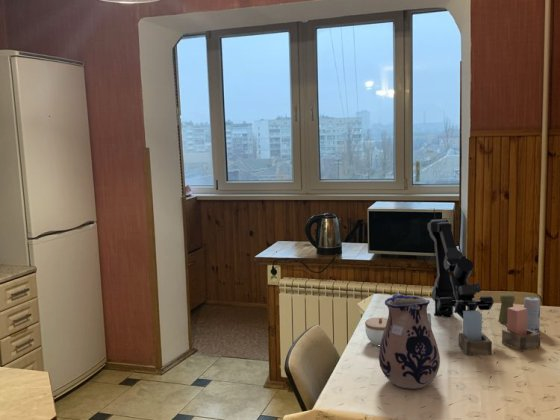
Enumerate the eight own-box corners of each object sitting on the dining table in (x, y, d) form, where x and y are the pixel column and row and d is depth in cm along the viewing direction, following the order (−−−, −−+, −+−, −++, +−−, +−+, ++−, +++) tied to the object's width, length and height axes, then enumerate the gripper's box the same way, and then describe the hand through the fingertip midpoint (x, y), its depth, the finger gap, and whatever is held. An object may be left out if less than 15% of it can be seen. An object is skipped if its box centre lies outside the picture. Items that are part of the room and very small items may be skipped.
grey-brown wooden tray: (501, 342, 192) (502, 329, 191) (518, 338, 196) (518, 325, 195) (523, 350, 184) (523, 337, 183) (540, 346, 187) (540, 333, 187)
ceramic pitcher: (396, 400, 153) (396, 313, 149) (364, 370, 173) (363, 293, 169) (451, 390, 157) (452, 306, 154) (414, 362, 177) (413, 287, 174)
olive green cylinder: (517, 324, 210) (518, 296, 208) (501, 324, 210) (502, 296, 208) (511, 319, 216) (512, 291, 214) (496, 319, 216) (496, 292, 214)
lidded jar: (359, 343, 196) (358, 317, 195) (378, 335, 203) (378, 311, 201) (382, 351, 188) (382, 324, 187) (402, 343, 195) (402, 317, 193)
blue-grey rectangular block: (462, 344, 191) (463, 310, 189) (477, 343, 191) (477, 310, 189) (466, 348, 187) (467, 314, 185) (481, 348, 187) (481, 314, 185)
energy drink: (539, 328, 205) (540, 297, 203) (539, 332, 200) (540, 301, 198) (523, 326, 207) (524, 295, 205) (523, 331, 202) (524, 299, 200)
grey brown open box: (458, 345, 191) (458, 332, 190) (482, 344, 190) (482, 332, 190) (466, 355, 182) (466, 342, 181) (491, 354, 182) (491, 341, 181)
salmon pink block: (506, 341, 192) (507, 308, 190) (516, 338, 194) (517, 305, 193) (516, 344, 188) (516, 311, 187) (526, 342, 191) (527, 308, 189)
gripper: (439, 275, 194) (447, 315, 184) (492, 274, 193) (503, 314, 184) (433, 291, 202) (441, 330, 193) (484, 289, 202) (494, 328, 192)
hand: (470, 325), depth 190 cm, fingers closed, pressing on blue-grey rectangular block
